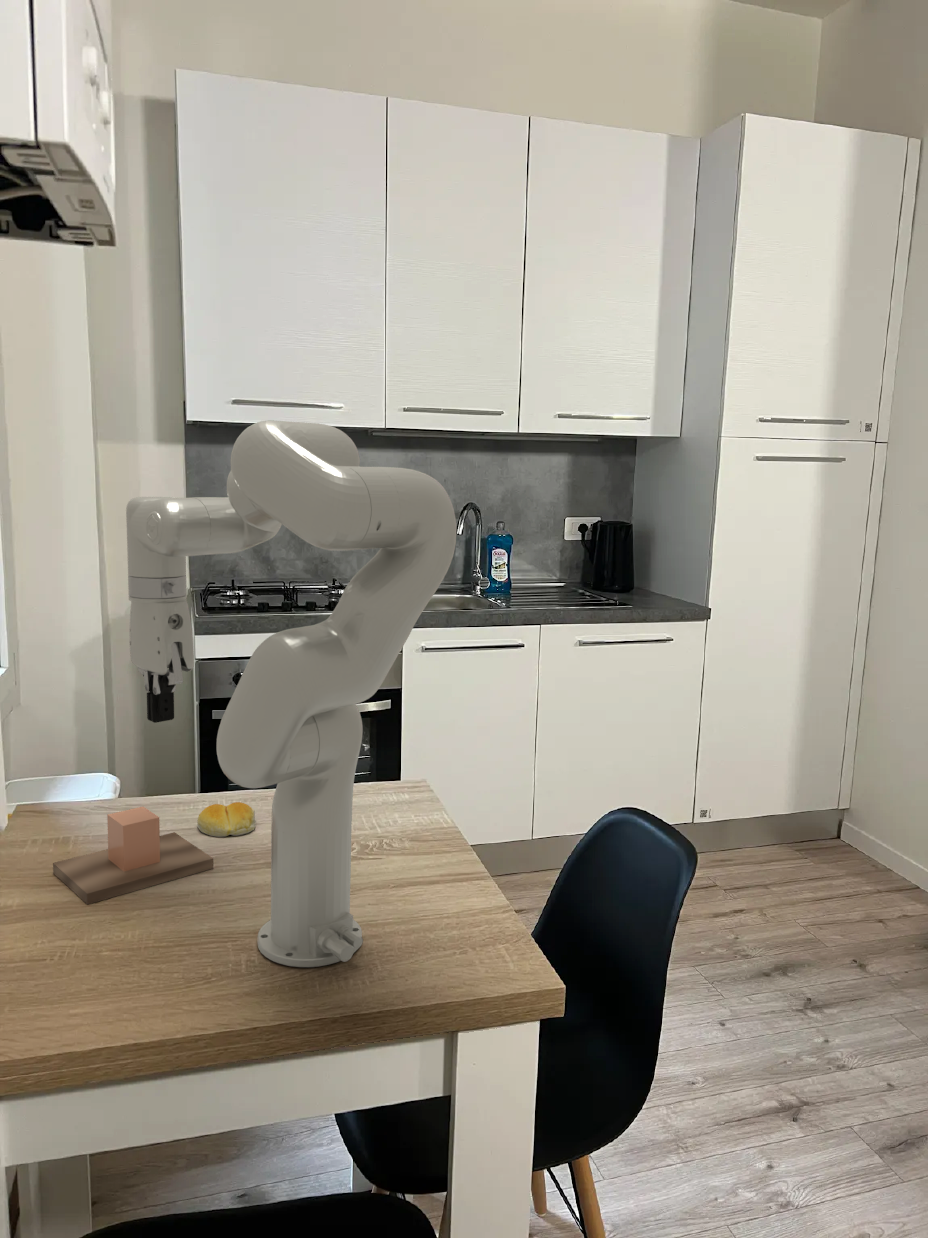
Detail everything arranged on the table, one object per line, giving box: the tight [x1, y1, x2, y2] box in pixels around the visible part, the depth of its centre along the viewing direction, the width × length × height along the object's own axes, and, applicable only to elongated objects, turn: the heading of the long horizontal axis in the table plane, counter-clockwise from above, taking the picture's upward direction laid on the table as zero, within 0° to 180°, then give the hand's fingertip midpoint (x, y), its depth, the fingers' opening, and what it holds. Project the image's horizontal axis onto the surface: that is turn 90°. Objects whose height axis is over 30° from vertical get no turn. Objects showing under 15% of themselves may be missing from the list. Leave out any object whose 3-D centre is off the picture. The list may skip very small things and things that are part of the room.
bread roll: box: [196, 801, 256, 838], centre depth 150 cm, size 8×9×4 cm
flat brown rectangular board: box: [52, 832, 214, 905], centre depth 133 cm, size 12×18×7 cm, turn 133°
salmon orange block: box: [106, 806, 161, 871], centre depth 133 cm, size 5×5×7 cm
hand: (160, 719), depth 132 cm, fingers closed
